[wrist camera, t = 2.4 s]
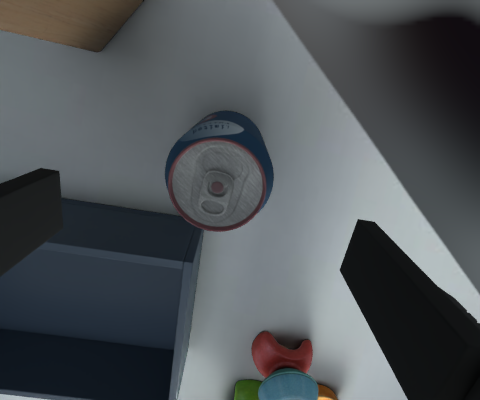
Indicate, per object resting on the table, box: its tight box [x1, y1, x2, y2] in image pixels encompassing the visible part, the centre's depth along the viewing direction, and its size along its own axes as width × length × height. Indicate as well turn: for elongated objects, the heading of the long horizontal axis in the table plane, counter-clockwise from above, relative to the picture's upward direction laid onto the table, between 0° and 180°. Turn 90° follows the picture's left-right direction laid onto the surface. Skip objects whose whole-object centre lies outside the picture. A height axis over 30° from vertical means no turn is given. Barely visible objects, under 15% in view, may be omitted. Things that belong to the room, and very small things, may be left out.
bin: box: [0, 198, 204, 400], centre depth 30 cm, size 28×20×8 cm
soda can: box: [165, 111, 274, 232], centre depth 22 cm, size 7×7×12 cm
